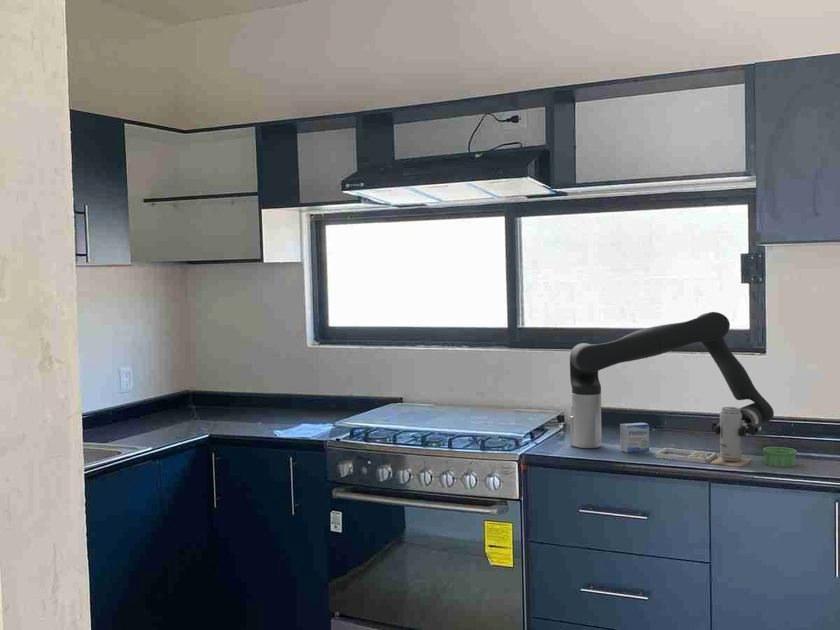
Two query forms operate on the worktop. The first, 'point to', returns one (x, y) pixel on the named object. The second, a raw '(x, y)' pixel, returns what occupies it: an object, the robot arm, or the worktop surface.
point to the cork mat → (731, 462)
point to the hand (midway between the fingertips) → (728, 431)
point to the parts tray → (694, 457)
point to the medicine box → (634, 437)
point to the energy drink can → (730, 434)
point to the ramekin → (779, 456)
